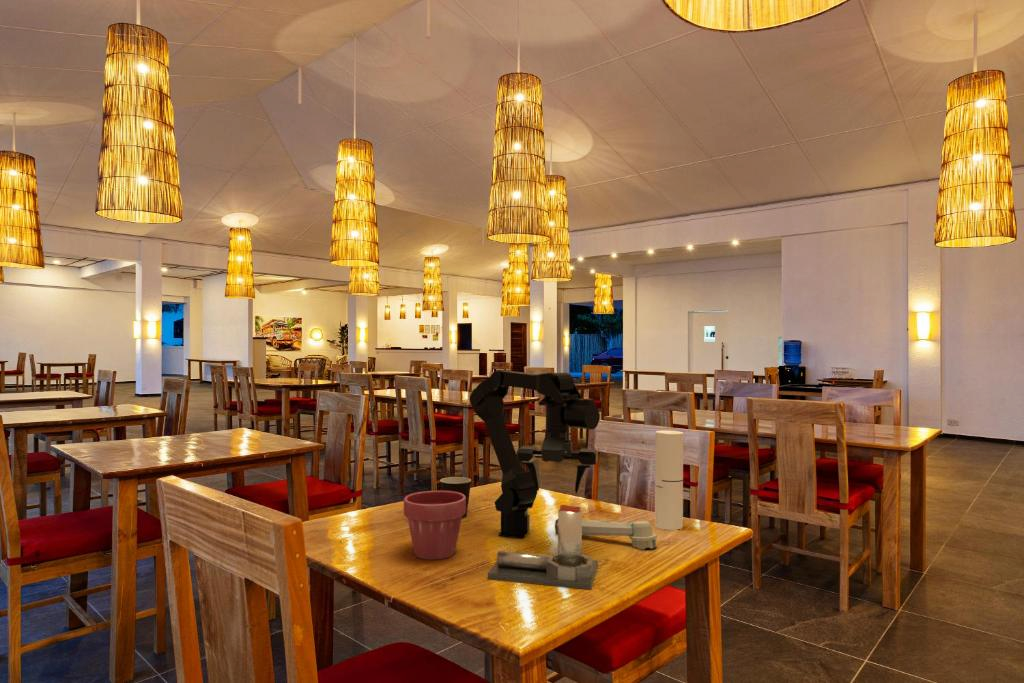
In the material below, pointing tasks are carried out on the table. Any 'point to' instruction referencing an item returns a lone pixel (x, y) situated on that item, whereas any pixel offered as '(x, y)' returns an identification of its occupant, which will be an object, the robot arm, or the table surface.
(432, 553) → the plant pot
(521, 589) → the table surface
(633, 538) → the grey long bar
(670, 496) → the cylindrical container
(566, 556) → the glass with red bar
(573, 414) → the robot arm
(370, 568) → the table surface
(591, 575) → the metal plate with ring
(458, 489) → the coffee mug
